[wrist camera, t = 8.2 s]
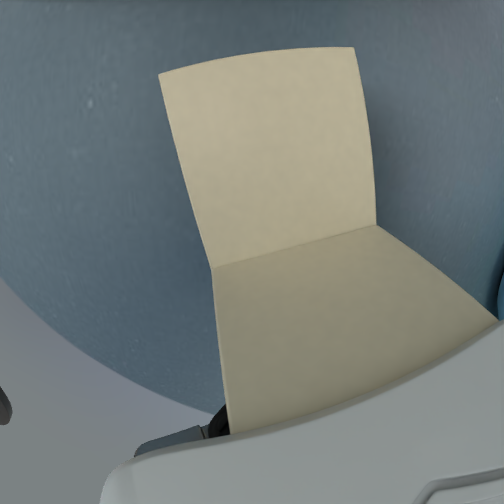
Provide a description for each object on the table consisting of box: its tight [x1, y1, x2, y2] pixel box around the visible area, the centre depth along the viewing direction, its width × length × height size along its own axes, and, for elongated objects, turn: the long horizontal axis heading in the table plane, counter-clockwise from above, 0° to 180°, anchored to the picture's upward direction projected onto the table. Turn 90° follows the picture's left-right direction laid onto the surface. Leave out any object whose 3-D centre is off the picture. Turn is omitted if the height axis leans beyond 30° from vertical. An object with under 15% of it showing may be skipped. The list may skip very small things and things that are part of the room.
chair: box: [158, 47, 499, 435], centre depth 8 cm, size 7×6×11 cm
